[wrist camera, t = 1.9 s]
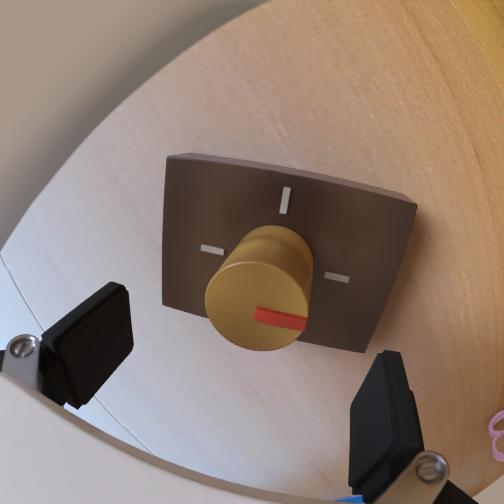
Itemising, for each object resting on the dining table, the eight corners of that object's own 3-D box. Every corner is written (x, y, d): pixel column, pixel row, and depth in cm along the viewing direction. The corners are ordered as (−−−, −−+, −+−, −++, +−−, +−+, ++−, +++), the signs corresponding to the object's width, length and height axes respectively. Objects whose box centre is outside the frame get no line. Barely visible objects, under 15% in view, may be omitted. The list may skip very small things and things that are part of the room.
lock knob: (231, 288, 18) (199, 341, 13) (240, 217, 16) (205, 253, 11) (304, 304, 17) (294, 365, 12) (321, 234, 15) (320, 279, 11)
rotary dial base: (179, 285, 22) (160, 306, 20) (188, 152, 18) (164, 156, 16) (361, 328, 20) (364, 355, 17) (404, 194, 16) (419, 205, 13)
